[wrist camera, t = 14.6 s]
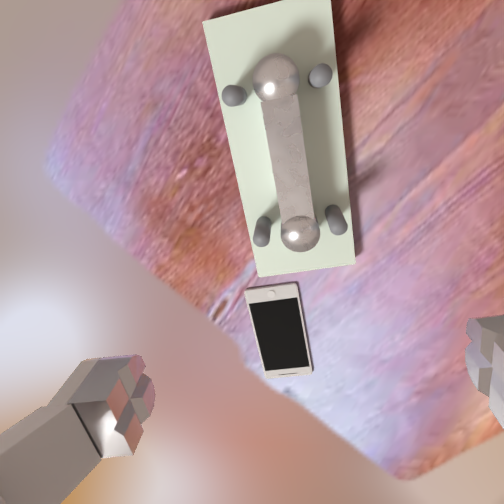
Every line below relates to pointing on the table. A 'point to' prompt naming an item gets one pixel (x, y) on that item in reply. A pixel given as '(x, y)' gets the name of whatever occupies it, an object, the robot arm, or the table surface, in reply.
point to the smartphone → (279, 330)
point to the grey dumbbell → (287, 149)
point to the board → (312, 119)
